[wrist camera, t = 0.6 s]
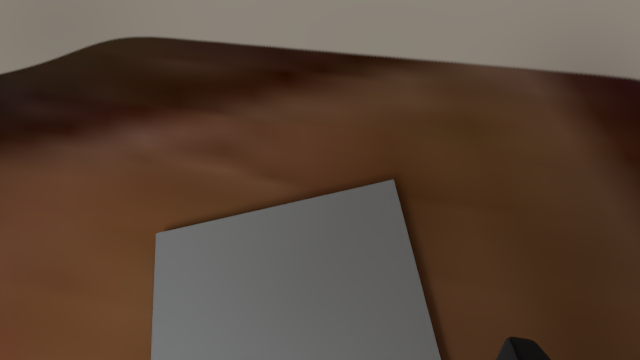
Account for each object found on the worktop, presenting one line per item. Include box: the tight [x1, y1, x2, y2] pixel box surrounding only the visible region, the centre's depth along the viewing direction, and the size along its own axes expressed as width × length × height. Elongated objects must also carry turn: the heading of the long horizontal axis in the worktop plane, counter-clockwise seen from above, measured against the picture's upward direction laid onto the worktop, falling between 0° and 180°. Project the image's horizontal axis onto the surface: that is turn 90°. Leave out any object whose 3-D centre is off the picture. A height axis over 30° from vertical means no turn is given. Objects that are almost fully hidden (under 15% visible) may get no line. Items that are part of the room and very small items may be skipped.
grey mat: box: [151, 179, 441, 360], centre depth 23 cm, size 12×12×1 cm
